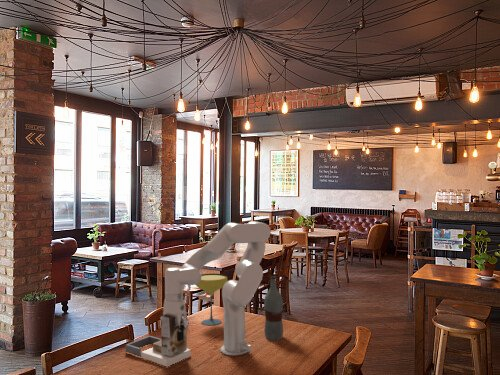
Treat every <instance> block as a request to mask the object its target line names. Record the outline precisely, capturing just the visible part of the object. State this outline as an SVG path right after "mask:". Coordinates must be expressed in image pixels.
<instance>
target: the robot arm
mask: <svg viewBox="0 0 500 375" xmlns="http://www.w3.org/2000/svg"><path fill="white" fill-rule="evenodd" d="M270 236H271V228H270V226H269V224H267V223H264V222H262V221H261V222H260V221H255V220H252V221H249V222H247V223H237V222H228V223H226V224H225V225H224V226H222V228H221V229H219V230H218V232H217V233H216V234H215V235H214V236H213V237H212V238H211V239H210V240H209V241H208V242H207V244H205V245H204V246H202V247H201V248H200V249H198V250H197V251H196V252H194V253H193V254H192V255H191V256H190V257H189V258H188V259H187V260H186V262H184V263H183V265H182V266H181V267H176V266H175V267H168V268H166V269H165V270H164V301H163V306H162V307H163V308H162V315H169V316H173V317H175V320H176V325H177V328H178V331H179V332H177V340H178V341H181V340H183V339H184V330H185V329H186V327H188V326H189V323H190V322H189V321H188V319H187V320H186V313H187V308H186V302H185V299H184V298H185V296H184V288H183V286H185V285H186V286H196V285H195V284H198V283H199V282H200V281H201V278H202V274H203V273H202V272H201V269H202V268H204V266H206V265H207V264H208V263H211V262H212V261H217V260H219V259H221V258H222V257H223V256H224V254H225V253H226V252H227V251H228V250H229V249H230V248H231V247H232V246H233V244H247V245H246V249H245V250H244V251H243V252H244V253H243V255H242V256H241V258H240V260H239V261H238V263H237V265H236V267H235V276H237V278H238V280H237V279H229V280H228V281H227V282H226V283H225V284H224V286H223V288H221V289H222V290H221V297H222V303H223V304H222V305H223V345H222V346H220V352H221V353H222V354H223V355H225V356H231V357H233V356H234V357H235V356H241V355H242V356H243V355H245V354H246V353H248V352H251V350H252V345H251V344H248V341H247V340H246V331H245V330H246V327H245V326H246V325H245V324H246V319H245V318H246V317H245V316H246V312H245V311H246V310H245V307H246V306H248V304H249V303H250V302H251V301H252V298H253V297H254V295H255V293H256V292H257V289H258V288H259V286H260V284H261V282H262V280H263V276H264V271H263V268H262V266H261V265H260V264H261V261H262V259H263V257H264V255H265V252H266V241H267V240H268V239H269V238H270ZM162 315H161V316H160V318H159V319H160V321H161V322H162ZM180 322H181V323H180ZM183 323H184V324H183ZM180 325H181V328H180Z"/></svg>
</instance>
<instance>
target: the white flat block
mask: <svg viewBox="0 0 500 375" xmlns="http://www.w3.org/2000/svg"><path fill="white" fill-rule="evenodd" d="M191 351H192V350H191V348H187V350H186V351H183V352H181V353H178V354H176V355H173V356H168V355H165V354H163V353H159V352H156V351H153V347H152V348H149V349H147V350H144V351H142V352H141V357H143V358H146V359H149V360H152V361H154V362H157V363H159V364H162V365H164V366H169V367H171V366H170V365H172V364H174V365H175V363H176V364H178V363H179V361H180V362H182V361H184V360H186V359H188V358H190V357H191V354H192V353H191ZM185 358H186V359H185ZM183 359H184V360H183ZM181 360H182V361H181ZM177 362H178V363H177ZM164 366H163V367H164ZM172 366H173V365H172Z"/></svg>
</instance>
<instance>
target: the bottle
mask: <svg viewBox="0 0 500 375" xmlns="http://www.w3.org/2000/svg"><path fill="white" fill-rule="evenodd" d="M283 300H284V299H283V296H282V294H281V293H280V291H279V290H278V288H277V276H275V275H271V276H270V287H269V289H268V291H267V292H266V294H265V296H264V302H263V306H264V318H265V323H264V329H263V330H264V336H265V339H266V340H268V341H280V340H282V339H283V336H284V325H283V309H284V308H283V307H284V301H283Z"/></svg>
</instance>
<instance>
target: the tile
mask: <svg viewBox="0 0 500 375" xmlns="http://www.w3.org/2000/svg"><path fill="white" fill-rule="evenodd" d="M161 342H162V341H161V340H160V341H158V342H155V343H153V351H156V352H159V353H161Z"/></svg>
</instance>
